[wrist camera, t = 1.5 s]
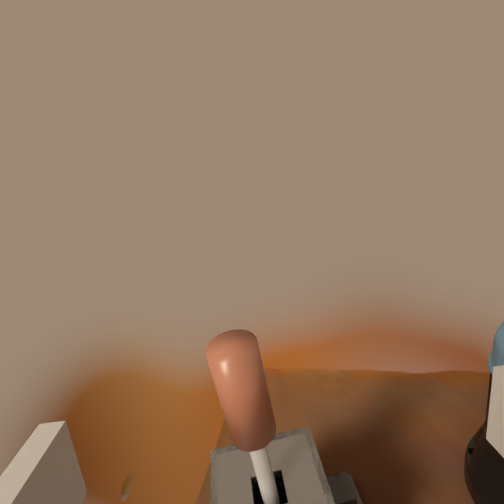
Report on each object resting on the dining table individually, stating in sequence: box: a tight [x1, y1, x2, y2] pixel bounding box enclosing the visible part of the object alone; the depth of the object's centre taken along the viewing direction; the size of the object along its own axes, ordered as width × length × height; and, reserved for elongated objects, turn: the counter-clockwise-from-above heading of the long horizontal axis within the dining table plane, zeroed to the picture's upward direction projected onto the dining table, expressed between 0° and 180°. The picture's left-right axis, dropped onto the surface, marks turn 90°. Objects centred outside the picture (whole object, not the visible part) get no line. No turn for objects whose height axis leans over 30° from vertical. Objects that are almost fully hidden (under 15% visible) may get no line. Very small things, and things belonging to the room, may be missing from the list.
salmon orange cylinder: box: [205, 330, 281, 504], centre depth 27 cm, size 4×4×24 cm
